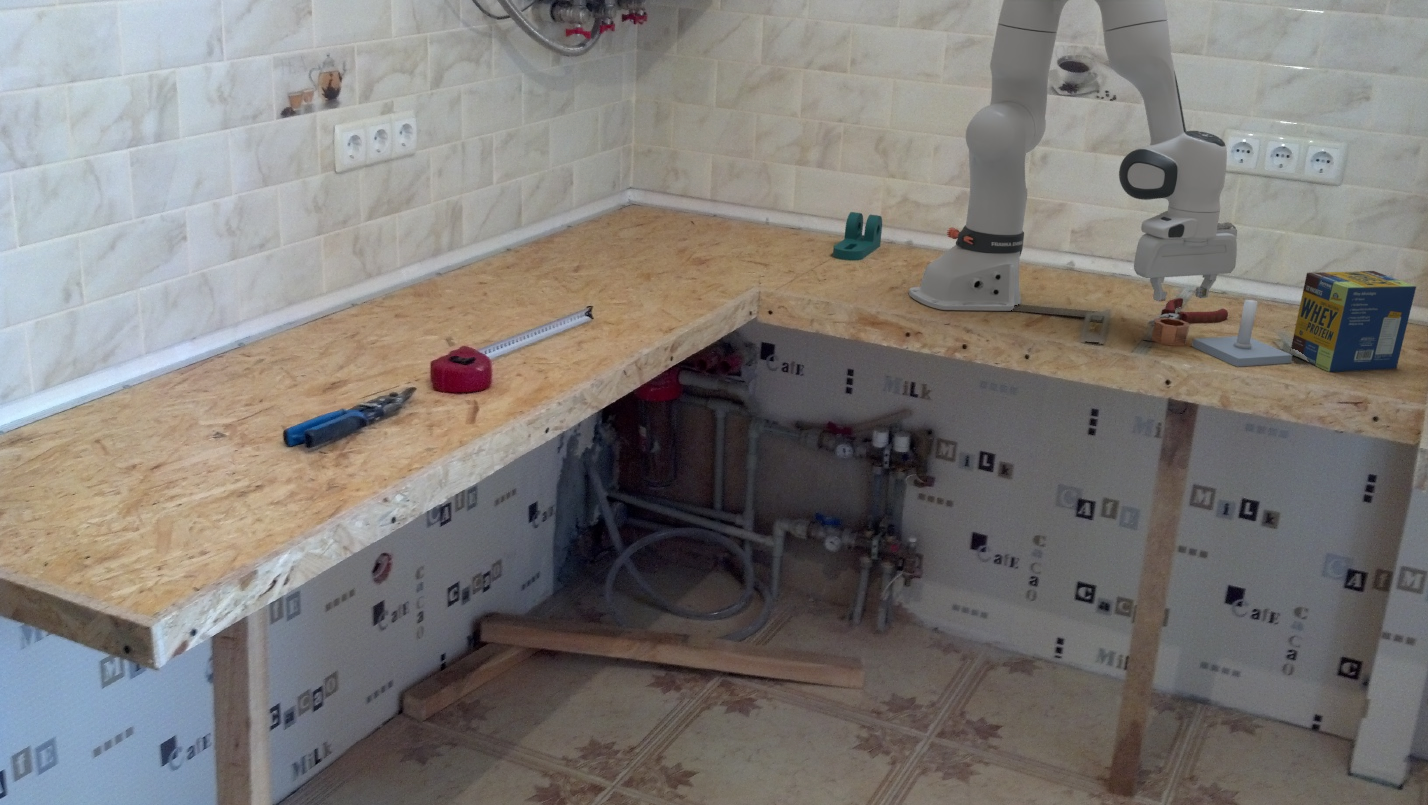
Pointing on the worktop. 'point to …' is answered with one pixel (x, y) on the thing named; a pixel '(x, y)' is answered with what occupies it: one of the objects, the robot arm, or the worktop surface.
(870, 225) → the bracket
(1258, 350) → the shaft block
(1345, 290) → the protein box
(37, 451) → the worktop surface
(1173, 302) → the pliers
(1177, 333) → the ring
